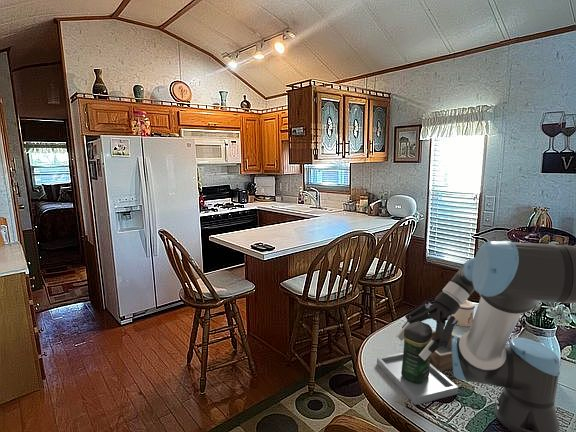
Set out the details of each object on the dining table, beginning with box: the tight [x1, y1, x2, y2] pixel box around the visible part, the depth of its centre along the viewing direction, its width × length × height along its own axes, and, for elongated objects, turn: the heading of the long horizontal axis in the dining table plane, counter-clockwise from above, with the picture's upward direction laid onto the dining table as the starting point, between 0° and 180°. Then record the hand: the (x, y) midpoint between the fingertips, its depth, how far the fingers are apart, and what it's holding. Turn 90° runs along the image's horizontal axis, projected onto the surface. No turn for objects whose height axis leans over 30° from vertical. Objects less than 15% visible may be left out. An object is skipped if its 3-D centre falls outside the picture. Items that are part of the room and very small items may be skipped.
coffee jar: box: [401, 321, 433, 384], centre depth 118 cm, size 10×8×19 cm
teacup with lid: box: [452, 299, 476, 327], centre depth 158 cm, size 12×9×12 cm
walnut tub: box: [430, 330, 458, 372], centre depth 132 cm, size 15×15×6 cm
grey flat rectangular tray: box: [376, 352, 459, 406], centre depth 120 cm, size 22×16×2 cm
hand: (409, 347), depth 117 cm, fingers open, 11 cm apart
